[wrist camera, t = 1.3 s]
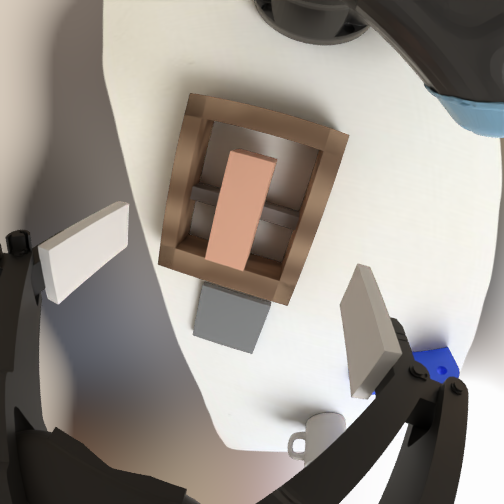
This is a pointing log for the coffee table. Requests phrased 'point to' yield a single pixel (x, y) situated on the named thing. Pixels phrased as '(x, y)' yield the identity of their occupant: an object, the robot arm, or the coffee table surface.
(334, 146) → the brown wooden frame
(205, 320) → the rubber pad
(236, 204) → the terracotta block
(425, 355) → the bracket
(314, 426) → the mug
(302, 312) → the coffee table surface
